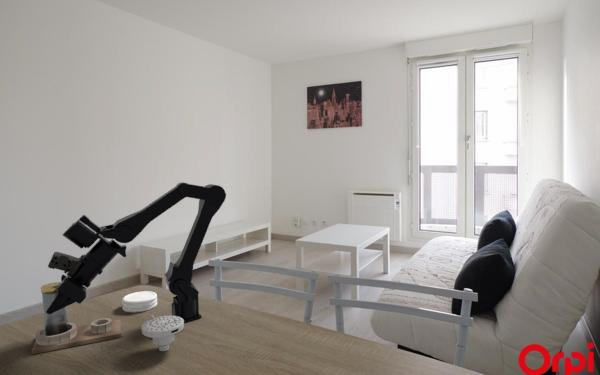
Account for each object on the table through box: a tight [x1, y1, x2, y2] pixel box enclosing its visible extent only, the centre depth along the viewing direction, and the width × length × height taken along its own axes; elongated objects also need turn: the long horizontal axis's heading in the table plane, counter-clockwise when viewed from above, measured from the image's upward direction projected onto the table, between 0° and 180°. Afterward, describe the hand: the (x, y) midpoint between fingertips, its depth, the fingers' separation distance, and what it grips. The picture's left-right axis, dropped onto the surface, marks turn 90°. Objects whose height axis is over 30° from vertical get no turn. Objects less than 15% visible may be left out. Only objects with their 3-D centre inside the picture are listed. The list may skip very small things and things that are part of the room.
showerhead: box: [141, 314, 185, 352], centre depth 93 cm, size 9×7×10 cm
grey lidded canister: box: [40, 281, 69, 336], centre depth 97 cm, size 5×5×12 cm
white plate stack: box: [121, 290, 158, 314], centre depth 121 cm, size 10×10×4 cm
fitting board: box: [31, 317, 122, 355], centre depth 100 cm, size 19×10×3 cm, turn 116°
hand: (48, 309), depth 97 cm, fingers closed on grey lidded canister, 5 cm apart
